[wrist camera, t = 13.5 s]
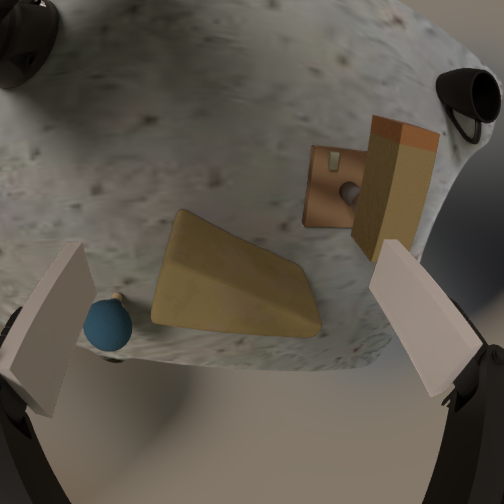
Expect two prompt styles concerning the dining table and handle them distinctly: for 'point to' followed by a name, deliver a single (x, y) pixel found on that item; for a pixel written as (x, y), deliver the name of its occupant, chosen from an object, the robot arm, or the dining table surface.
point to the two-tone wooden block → (393, 184)
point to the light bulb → (108, 324)
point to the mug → (470, 97)
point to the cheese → (230, 285)
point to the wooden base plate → (332, 186)
